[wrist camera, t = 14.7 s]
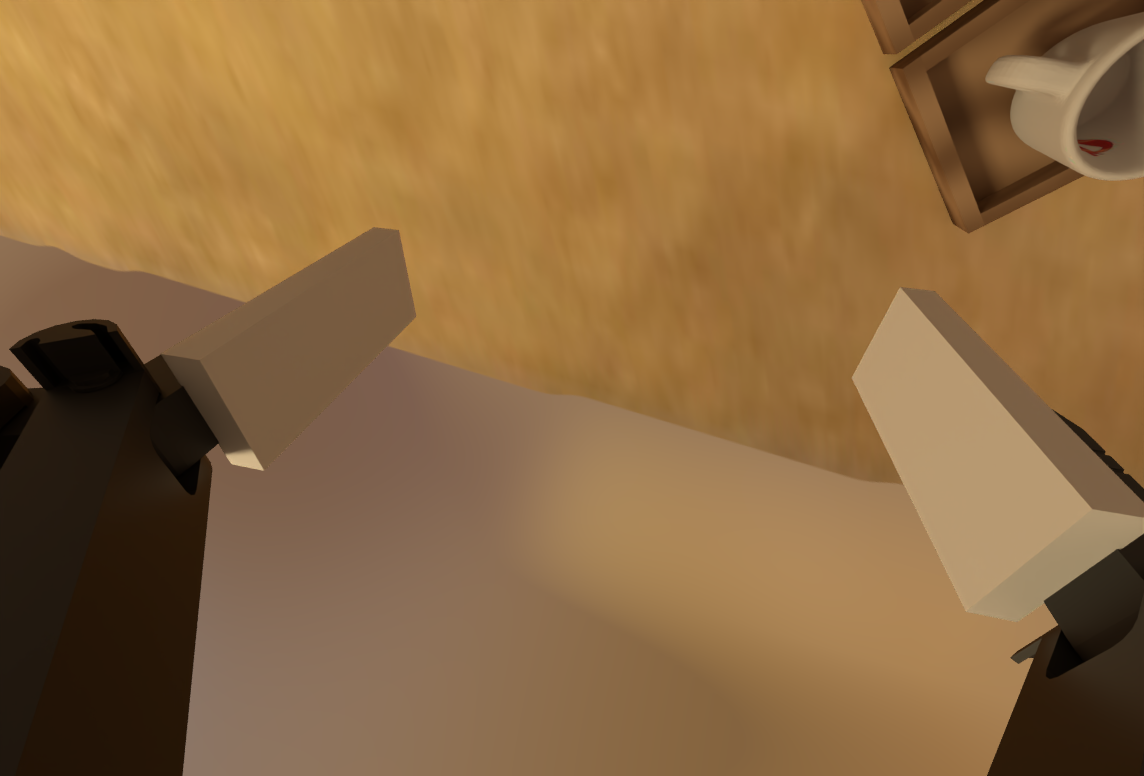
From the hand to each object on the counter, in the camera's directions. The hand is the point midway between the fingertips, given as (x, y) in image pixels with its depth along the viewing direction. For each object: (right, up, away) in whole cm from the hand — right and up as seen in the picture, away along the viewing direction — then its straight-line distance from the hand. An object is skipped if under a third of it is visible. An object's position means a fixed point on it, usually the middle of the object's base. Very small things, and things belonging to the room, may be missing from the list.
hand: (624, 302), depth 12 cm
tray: (+29, +18, +17) cm, 38 cm away
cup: (+29, +18, +17) cm, 38 cm away
